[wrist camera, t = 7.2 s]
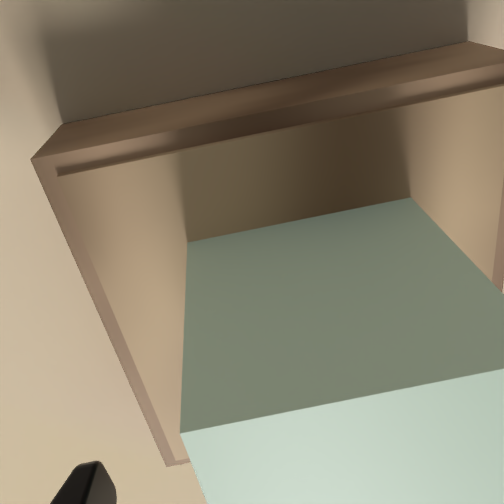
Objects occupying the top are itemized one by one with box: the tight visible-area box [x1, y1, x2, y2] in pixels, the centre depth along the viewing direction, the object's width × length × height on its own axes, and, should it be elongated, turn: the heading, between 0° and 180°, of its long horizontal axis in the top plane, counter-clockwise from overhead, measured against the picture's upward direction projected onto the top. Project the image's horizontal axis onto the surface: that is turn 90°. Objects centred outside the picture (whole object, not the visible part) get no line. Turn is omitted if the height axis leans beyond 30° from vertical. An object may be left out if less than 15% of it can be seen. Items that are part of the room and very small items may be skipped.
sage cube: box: [180, 197, 504, 504], centre depth 9 cm, size 5×5×5 cm
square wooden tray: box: [30, 41, 504, 467], centre depth 13 cm, size 10×10×3 cm
